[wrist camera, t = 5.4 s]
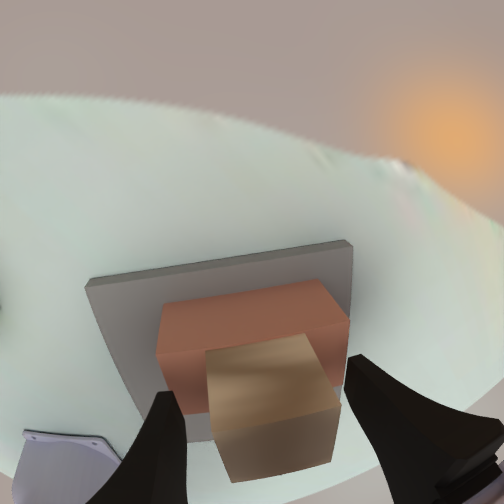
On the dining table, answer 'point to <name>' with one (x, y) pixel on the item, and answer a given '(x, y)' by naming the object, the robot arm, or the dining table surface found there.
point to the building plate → (194, 287)
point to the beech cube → (271, 408)
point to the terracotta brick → (247, 333)
